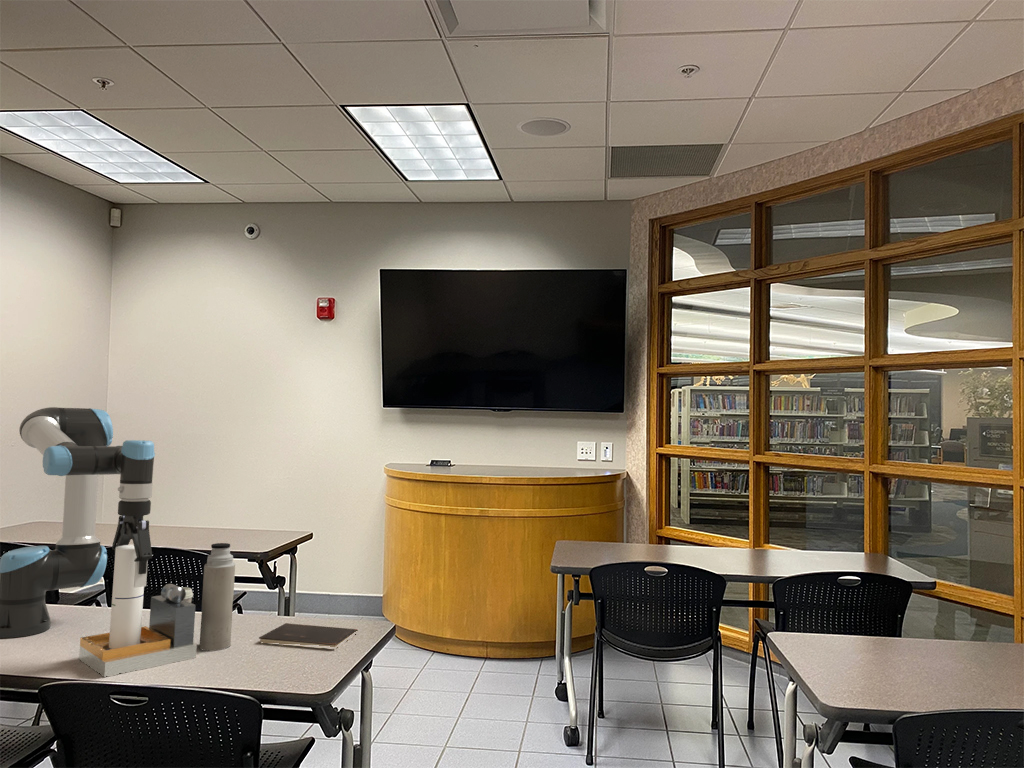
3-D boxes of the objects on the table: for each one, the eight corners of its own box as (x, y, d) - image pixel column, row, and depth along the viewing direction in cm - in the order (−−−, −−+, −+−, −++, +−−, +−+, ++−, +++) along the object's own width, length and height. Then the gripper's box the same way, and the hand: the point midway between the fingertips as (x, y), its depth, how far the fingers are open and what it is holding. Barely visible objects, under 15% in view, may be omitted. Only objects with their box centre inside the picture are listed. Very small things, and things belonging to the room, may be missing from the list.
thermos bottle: (222, 640, 201) (228, 540, 203) (235, 646, 196) (241, 544, 198) (194, 645, 196) (200, 543, 197) (207, 652, 190) (213, 547, 192)
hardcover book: (335, 652, 195) (335, 644, 196) (258, 645, 199) (258, 637, 200) (357, 636, 211) (358, 628, 211) (286, 630, 215) (286, 622, 215)
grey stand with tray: (78, 659, 182) (83, 590, 183) (167, 642, 198) (171, 578, 199) (104, 677, 170) (109, 603, 171) (195, 657, 186) (200, 589, 187)
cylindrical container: (126, 650, 178) (133, 550, 180) (102, 647, 180) (109, 548, 181) (146, 642, 185) (152, 545, 187) (122, 639, 187) (129, 544, 188)
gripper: (102, 496, 190) (96, 576, 189) (138, 504, 174) (132, 592, 172) (131, 494, 196) (126, 572, 195) (170, 503, 179) (164, 588, 178)
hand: (129, 582), depth 183 cm, fingers open, 13 cm apart
